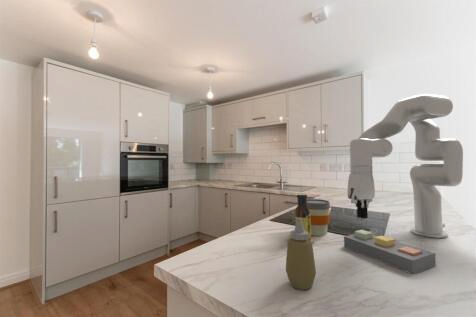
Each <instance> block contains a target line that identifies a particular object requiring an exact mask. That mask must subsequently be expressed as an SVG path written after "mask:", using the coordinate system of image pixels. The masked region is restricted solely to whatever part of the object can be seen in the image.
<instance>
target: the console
mask: <svg viewBox="0 0 476 317" xmlns="http://www.w3.org/2000/svg"><path fill="white" fill-rule="evenodd" d="M378 236H379V235H375V234H373V238H372V239H368V240H363V239H360V238H357V237H355V233H353V234H349V235H344V236H343V247H344V248H347V249H349V250H351V251H354V252H356V253H359V254H361V255H364V256H367V257H370V258H372V259H374V260H376V261H379V262H382V263H384V264H387V265H389V266H392V267H393V268H397V269H399V270H402V271H404V272H407V273H409V274H412V275H414V274H415V275H416V274H418V273H420V272H423V271H426V270H429V269H431V268H434V267H436V265H437V264H436V252H432V251H429V250H426V249H423V248H419V247H416V246H412V245H410V244H406V243H402V242H399V241H396V240H395V245H394V246H391V247H384V246H381V245H378V244H375V243H374V237H378ZM405 246H407V247H410V248H414V249H417V250H420V251H422V254H420V255H416V256H412V255H409V254H406V253H403V252H400V251H398V248H402V247H405Z"/></svg>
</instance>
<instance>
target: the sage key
mask: <svg viewBox="0 0 476 317" xmlns="http://www.w3.org/2000/svg"><path fill="white" fill-rule="evenodd" d="M354 234H355V237H357V238H360V239H363V240H368V239H372V238H373V235H374V233H373V231H372V232H371V231H368V230H365V229H360V230H359V229H358V230H354Z"/></svg>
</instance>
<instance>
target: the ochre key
mask: <svg viewBox="0 0 476 317" xmlns="http://www.w3.org/2000/svg"><path fill="white" fill-rule="evenodd" d="M377 236H378V237H374V243H375V244H378V245H381V246H384V247H391V246H394V245H395V241H396V239H395V238H393V237H388V236H385V235H377Z"/></svg>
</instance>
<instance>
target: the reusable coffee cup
mask: <svg viewBox="0 0 476 317" xmlns="http://www.w3.org/2000/svg"><path fill="white" fill-rule="evenodd" d="M330 204H331V203H330V200H326V199H320V198H307V206H308V209H309V211H310V219H311V236H315V237H324V236H326V235H328V225H329V224H330V217H331V214H330V209H331V205H330Z"/></svg>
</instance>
